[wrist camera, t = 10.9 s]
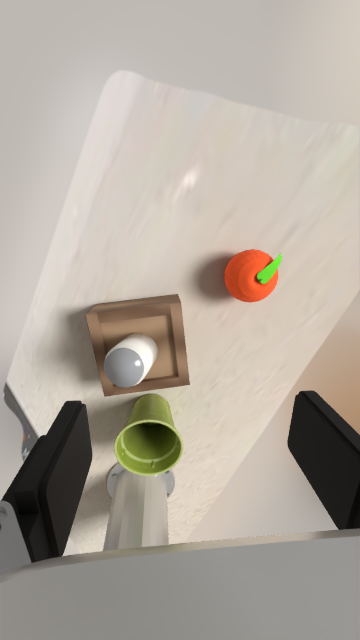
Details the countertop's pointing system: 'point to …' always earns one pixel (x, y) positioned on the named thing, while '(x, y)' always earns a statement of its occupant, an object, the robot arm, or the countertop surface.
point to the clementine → (251, 275)
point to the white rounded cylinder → (130, 360)
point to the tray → (148, 318)
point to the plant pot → (149, 438)
